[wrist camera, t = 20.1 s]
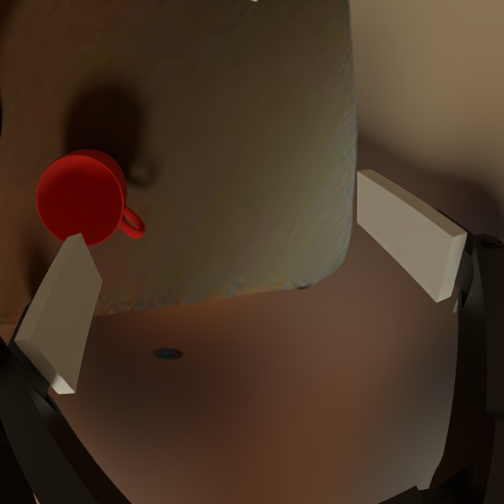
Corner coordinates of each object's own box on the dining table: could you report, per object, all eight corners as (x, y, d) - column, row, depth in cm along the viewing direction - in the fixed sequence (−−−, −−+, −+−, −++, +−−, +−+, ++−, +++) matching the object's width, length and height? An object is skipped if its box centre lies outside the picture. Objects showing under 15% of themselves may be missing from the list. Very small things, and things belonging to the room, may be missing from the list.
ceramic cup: (128, 242, 50) (119, 276, 42) (48, 191, 42) (23, 216, 34) (171, 182, 47) (168, 206, 38) (84, 123, 39) (61, 135, 30)
